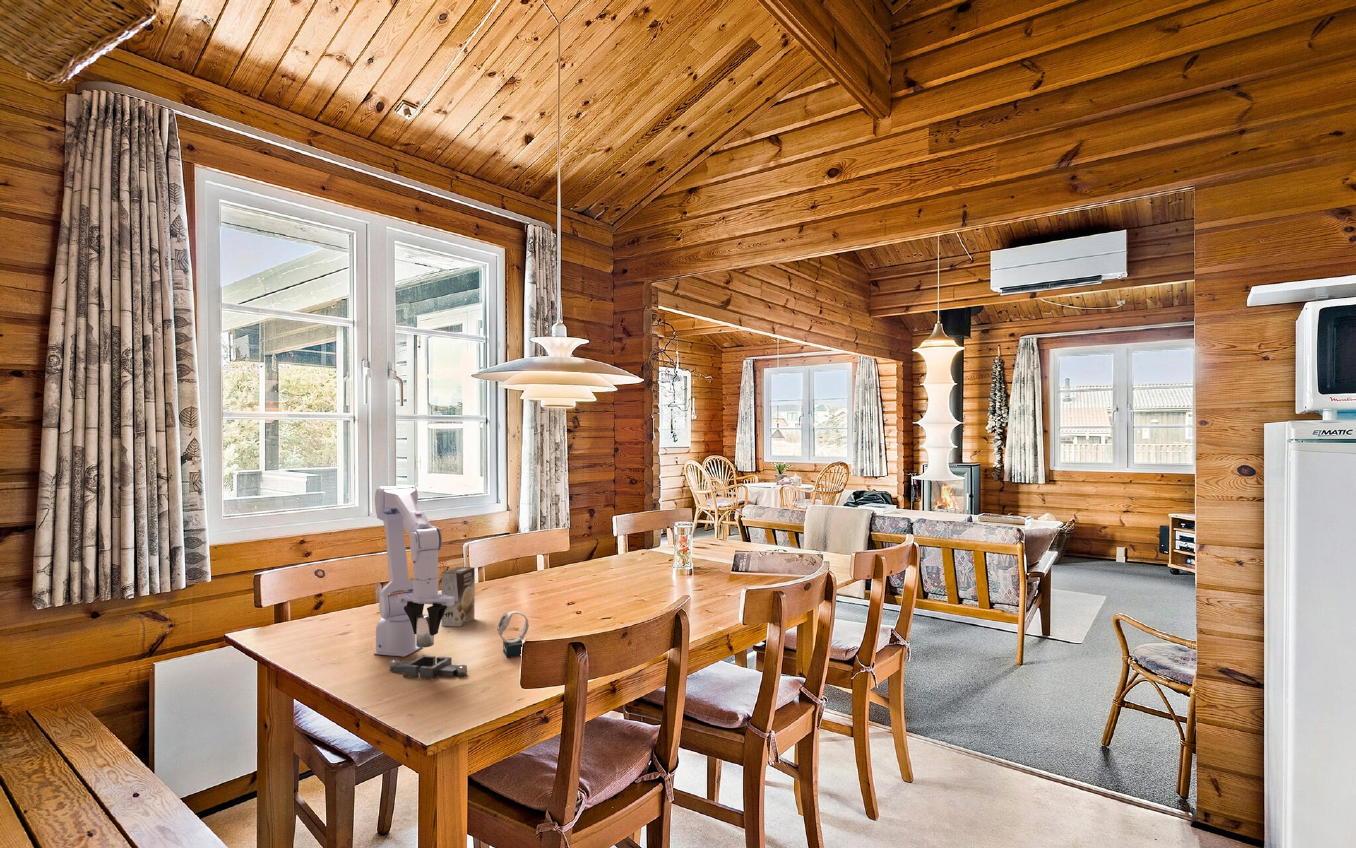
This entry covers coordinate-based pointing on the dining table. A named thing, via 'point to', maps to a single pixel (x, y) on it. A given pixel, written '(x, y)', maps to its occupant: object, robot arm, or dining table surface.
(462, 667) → the chain end right
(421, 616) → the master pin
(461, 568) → the coffee box
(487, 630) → the dining table surface
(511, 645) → the watch
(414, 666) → the chain end left
